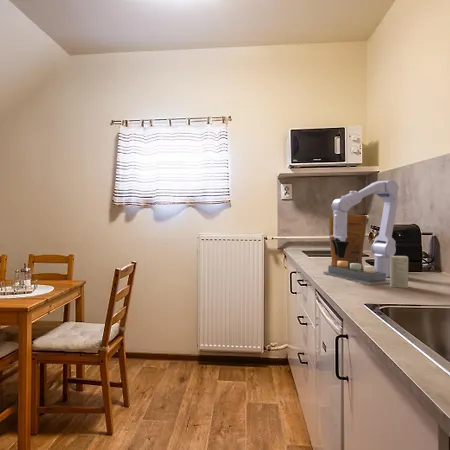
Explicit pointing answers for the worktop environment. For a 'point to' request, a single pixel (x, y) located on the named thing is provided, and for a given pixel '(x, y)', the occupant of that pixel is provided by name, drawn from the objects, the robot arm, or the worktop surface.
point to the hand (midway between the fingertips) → (339, 256)
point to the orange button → (342, 264)
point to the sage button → (355, 266)
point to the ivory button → (370, 269)
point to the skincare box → (399, 271)
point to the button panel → (357, 275)
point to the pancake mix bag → (350, 239)
